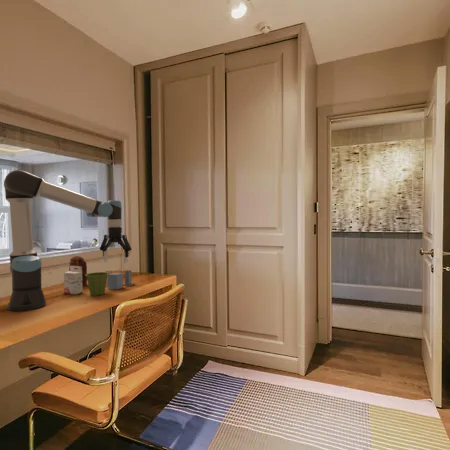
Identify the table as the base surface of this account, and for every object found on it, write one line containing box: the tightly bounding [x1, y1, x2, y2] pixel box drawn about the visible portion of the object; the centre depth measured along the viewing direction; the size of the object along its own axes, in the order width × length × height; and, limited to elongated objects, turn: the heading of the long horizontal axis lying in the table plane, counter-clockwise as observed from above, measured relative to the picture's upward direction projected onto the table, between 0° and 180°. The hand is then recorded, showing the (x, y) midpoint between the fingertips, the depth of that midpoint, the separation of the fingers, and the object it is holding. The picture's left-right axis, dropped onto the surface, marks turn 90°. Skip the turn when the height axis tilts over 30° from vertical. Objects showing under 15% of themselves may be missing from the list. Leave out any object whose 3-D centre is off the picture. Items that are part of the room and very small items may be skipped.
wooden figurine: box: [68, 255, 88, 287], centre depth 191 cm, size 12×6×18 cm, turn 86°
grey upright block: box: [107, 272, 124, 290], centre depth 183 cm, size 6×6×9 cm
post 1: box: [105, 270, 113, 287], centre depth 191 cm, size 6×6×9 cm
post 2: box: [123, 269, 136, 287], centre depth 192 cm, size 6×6×9 cm
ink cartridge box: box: [63, 265, 83, 295], centre depth 172 cm, size 9×5×15 cm, turn 74°
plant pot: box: [85, 271, 109, 297], centre depth 169 cm, size 12×12×11 cm
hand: (115, 262), depth 183 cm, fingers open, 13 cm apart
